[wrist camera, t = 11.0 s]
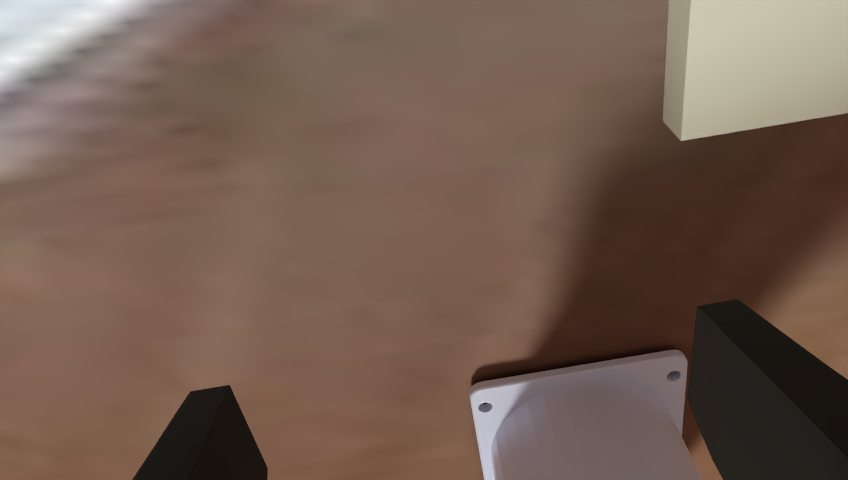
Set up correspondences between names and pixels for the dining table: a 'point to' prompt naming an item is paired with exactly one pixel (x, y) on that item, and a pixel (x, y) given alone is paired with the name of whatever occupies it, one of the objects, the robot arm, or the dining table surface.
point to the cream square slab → (753, 64)
